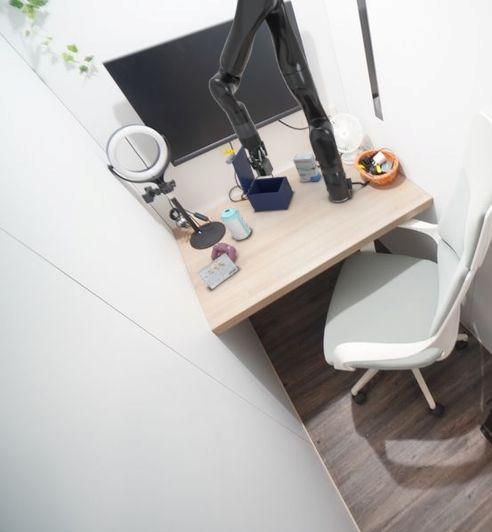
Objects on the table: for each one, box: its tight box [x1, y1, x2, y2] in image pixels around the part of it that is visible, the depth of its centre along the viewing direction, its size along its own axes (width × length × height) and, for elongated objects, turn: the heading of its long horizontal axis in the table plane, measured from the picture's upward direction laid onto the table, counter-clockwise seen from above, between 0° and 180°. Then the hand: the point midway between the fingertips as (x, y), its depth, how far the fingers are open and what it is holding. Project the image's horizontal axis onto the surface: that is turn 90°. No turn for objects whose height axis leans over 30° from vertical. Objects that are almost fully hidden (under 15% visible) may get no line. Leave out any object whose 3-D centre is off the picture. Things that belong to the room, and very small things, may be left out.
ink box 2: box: [292, 153, 321, 183], centre depth 149 cm, size 8×5×12 cm, turn 84°
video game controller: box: [210, 242, 237, 263], centre depth 122 cm, size 10×5×7 cm, turn 71°
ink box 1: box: [196, 252, 239, 290], centre depth 113 cm, size 2×11×10 cm, turn 140°
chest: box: [245, 175, 294, 213], centre depth 141 cm, size 15×12×9 cm
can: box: [220, 207, 251, 241], centre depth 127 cm, size 7×7×12 cm
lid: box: [225, 145, 256, 196], centre depth 132 cm, size 15×12×5 cm
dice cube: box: [254, 157, 274, 178], centre depth 130 cm, size 5×5×5 cm
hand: (265, 171), depth 132 cm, fingers closed on dice cube, 5 cm apart
